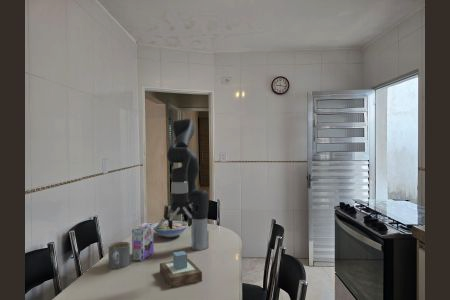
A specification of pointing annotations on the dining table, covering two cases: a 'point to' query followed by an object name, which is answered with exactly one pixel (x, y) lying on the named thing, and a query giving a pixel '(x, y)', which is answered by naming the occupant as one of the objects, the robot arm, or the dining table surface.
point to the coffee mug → (119, 255)
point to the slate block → (180, 260)
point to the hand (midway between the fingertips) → (180, 227)
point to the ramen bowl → (165, 231)
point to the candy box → (142, 241)
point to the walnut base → (180, 274)
